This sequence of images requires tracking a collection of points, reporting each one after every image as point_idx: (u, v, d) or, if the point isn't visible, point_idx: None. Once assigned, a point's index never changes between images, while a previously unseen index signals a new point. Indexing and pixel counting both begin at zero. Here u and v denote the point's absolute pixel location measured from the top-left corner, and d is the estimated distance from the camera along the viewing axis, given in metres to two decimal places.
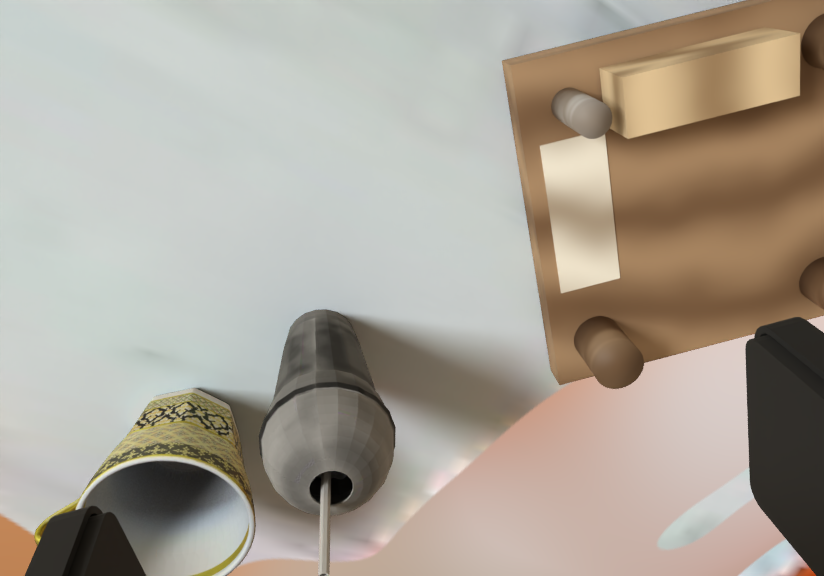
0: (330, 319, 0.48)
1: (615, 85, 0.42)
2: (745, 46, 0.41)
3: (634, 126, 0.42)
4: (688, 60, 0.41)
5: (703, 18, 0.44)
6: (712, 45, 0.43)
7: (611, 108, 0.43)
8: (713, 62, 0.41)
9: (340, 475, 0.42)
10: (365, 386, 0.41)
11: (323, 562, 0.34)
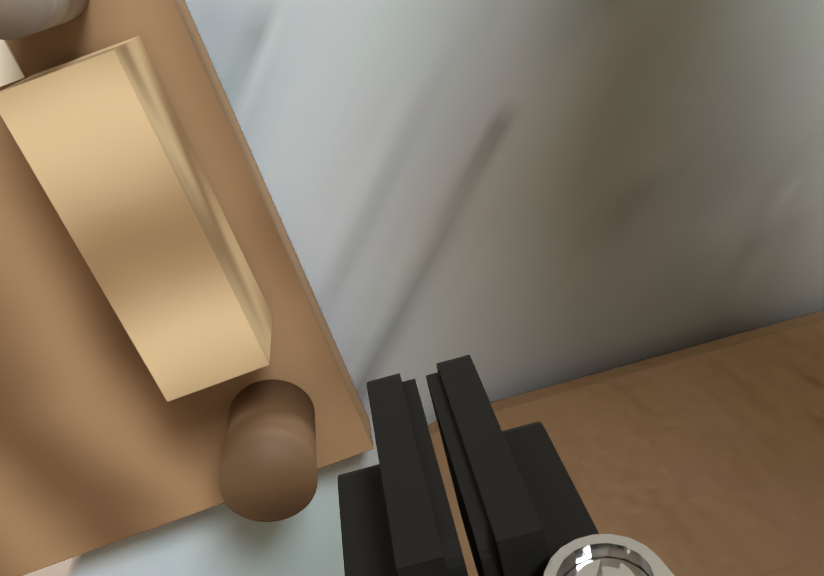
0: None
1: (101, 52, 0.20)
2: (228, 280, 0.23)
3: (20, 104, 0.20)
4: (180, 182, 0.21)
5: (266, 212, 0.26)
6: (223, 233, 0.24)
7: (60, 66, 0.21)
8: (187, 230, 0.22)
9: None
10: None
11: None
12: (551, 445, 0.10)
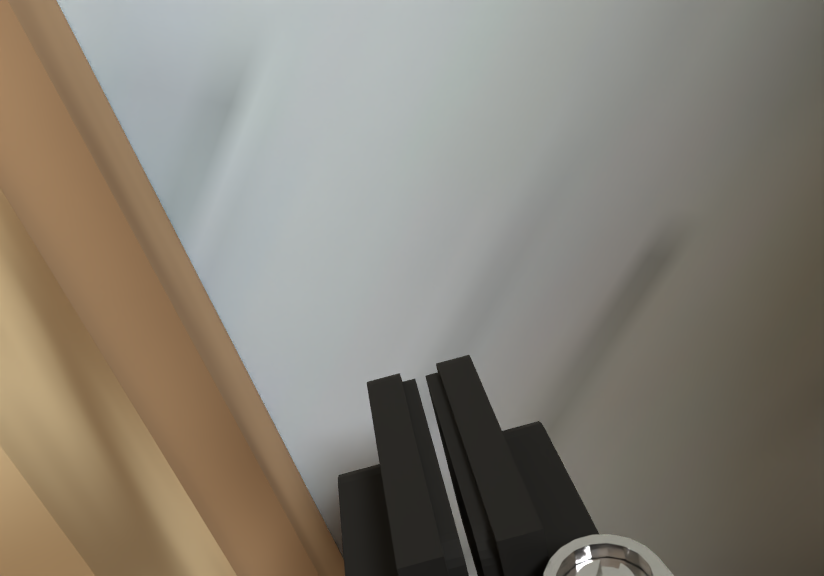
0: None
1: None
2: None
3: None
4: (34, 478, 0.09)
5: (243, 438, 0.14)
6: (153, 508, 0.12)
7: None
8: (56, 572, 0.10)
9: None
10: None
11: None
12: (551, 445, 0.10)
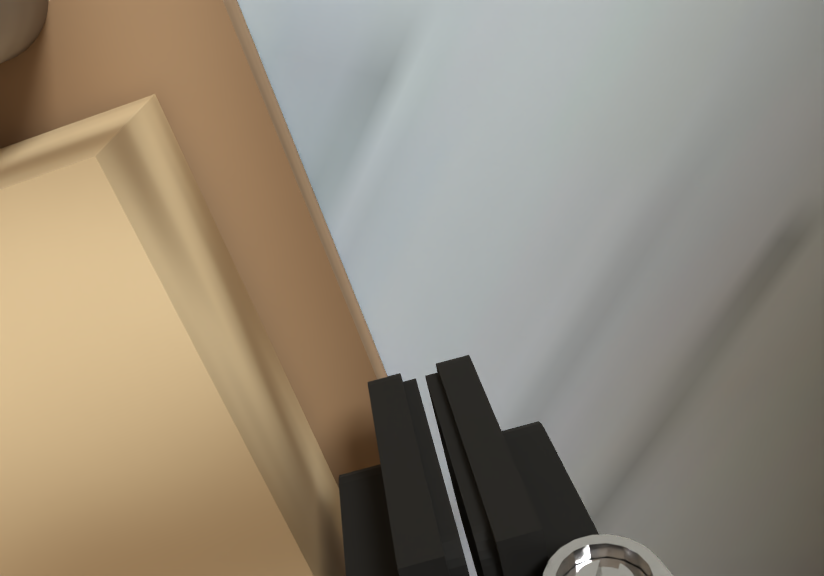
0: None
1: (67, 149, 0.08)
2: None
3: None
4: (249, 445, 0.09)
5: None
6: (317, 485, 0.12)
7: None
8: (260, 543, 0.09)
9: None
10: None
11: None
12: (550, 445, 0.10)
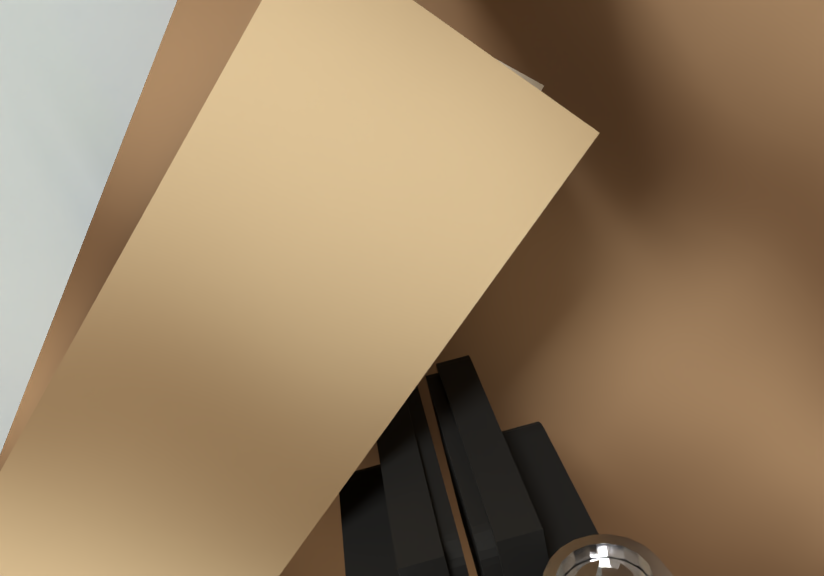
0: None
1: None
2: None
3: (339, 9, 0.07)
4: None
5: None
6: None
7: None
8: (306, 485, 0.09)
9: None
10: None
11: None
12: (550, 445, 0.10)
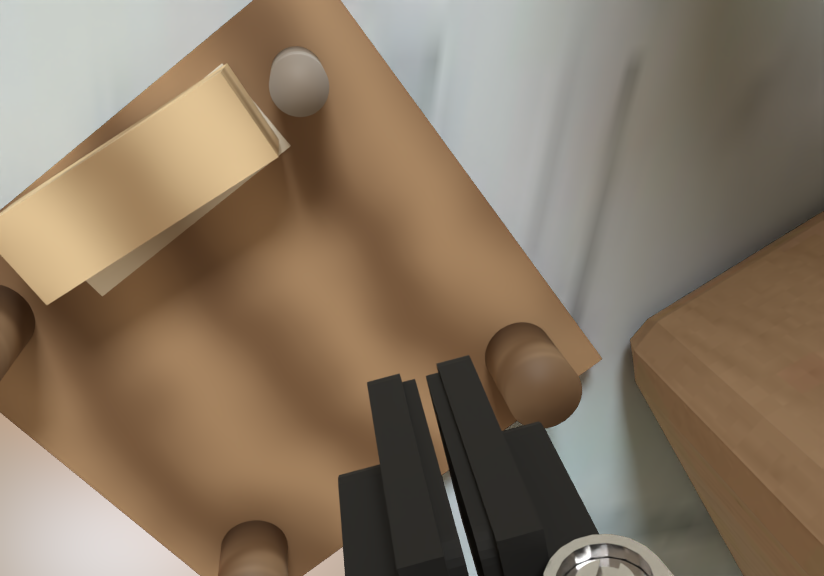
0: None
1: (269, 136, 0.28)
2: (116, 259, 0.27)
3: (220, 94, 0.26)
4: (190, 212, 0.27)
5: (479, 192, 0.32)
6: None
7: (246, 97, 0.28)
8: (152, 224, 0.27)
9: None
10: None
11: None
12: (551, 445, 0.10)
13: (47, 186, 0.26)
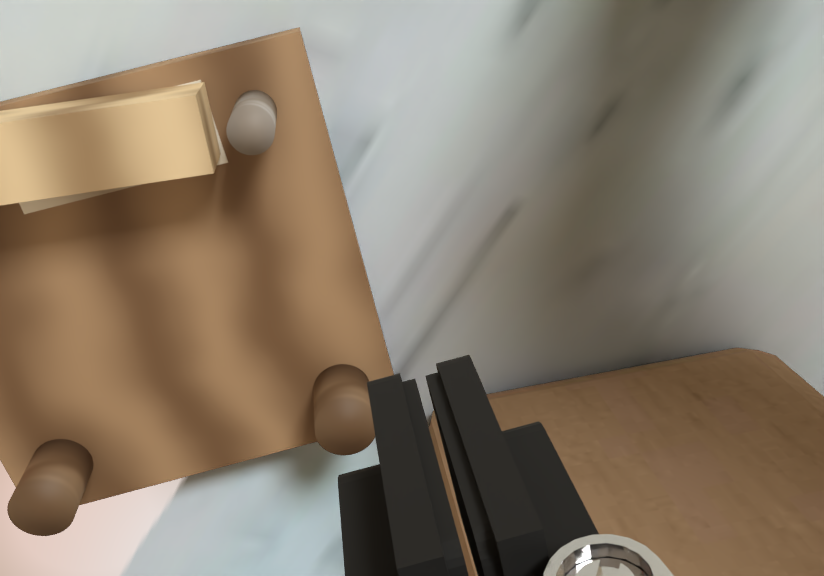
0: None
1: (213, 153, 0.34)
2: (51, 196, 0.33)
3: (188, 111, 0.32)
4: None
5: (360, 256, 0.40)
6: None
7: (207, 116, 0.34)
8: (93, 182, 0.33)
9: None
10: None
11: None
12: (551, 445, 0.10)
13: (21, 120, 0.31)
